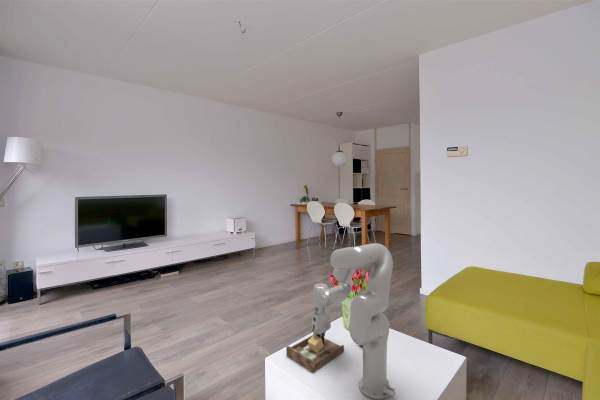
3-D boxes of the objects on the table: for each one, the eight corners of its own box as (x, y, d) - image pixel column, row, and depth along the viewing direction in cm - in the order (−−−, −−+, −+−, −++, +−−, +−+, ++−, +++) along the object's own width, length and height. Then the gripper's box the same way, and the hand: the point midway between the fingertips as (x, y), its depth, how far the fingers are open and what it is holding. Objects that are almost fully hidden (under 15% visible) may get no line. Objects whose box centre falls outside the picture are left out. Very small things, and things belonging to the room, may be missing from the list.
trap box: (343, 351, 142) (343, 342, 141) (313, 373, 126) (313, 362, 125) (317, 338, 154) (317, 329, 154) (286, 355, 138) (286, 346, 138)
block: (323, 346, 140) (321, 338, 139) (317, 353, 137) (314, 345, 135) (316, 342, 144) (314, 334, 142) (309, 349, 140) (307, 341, 139)
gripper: (316, 316, 134) (316, 352, 135) (336, 306, 145) (335, 340, 146) (305, 310, 140) (305, 346, 141) (325, 302, 150) (325, 335, 151)
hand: (320, 343), depth 143 cm, fingers closed
